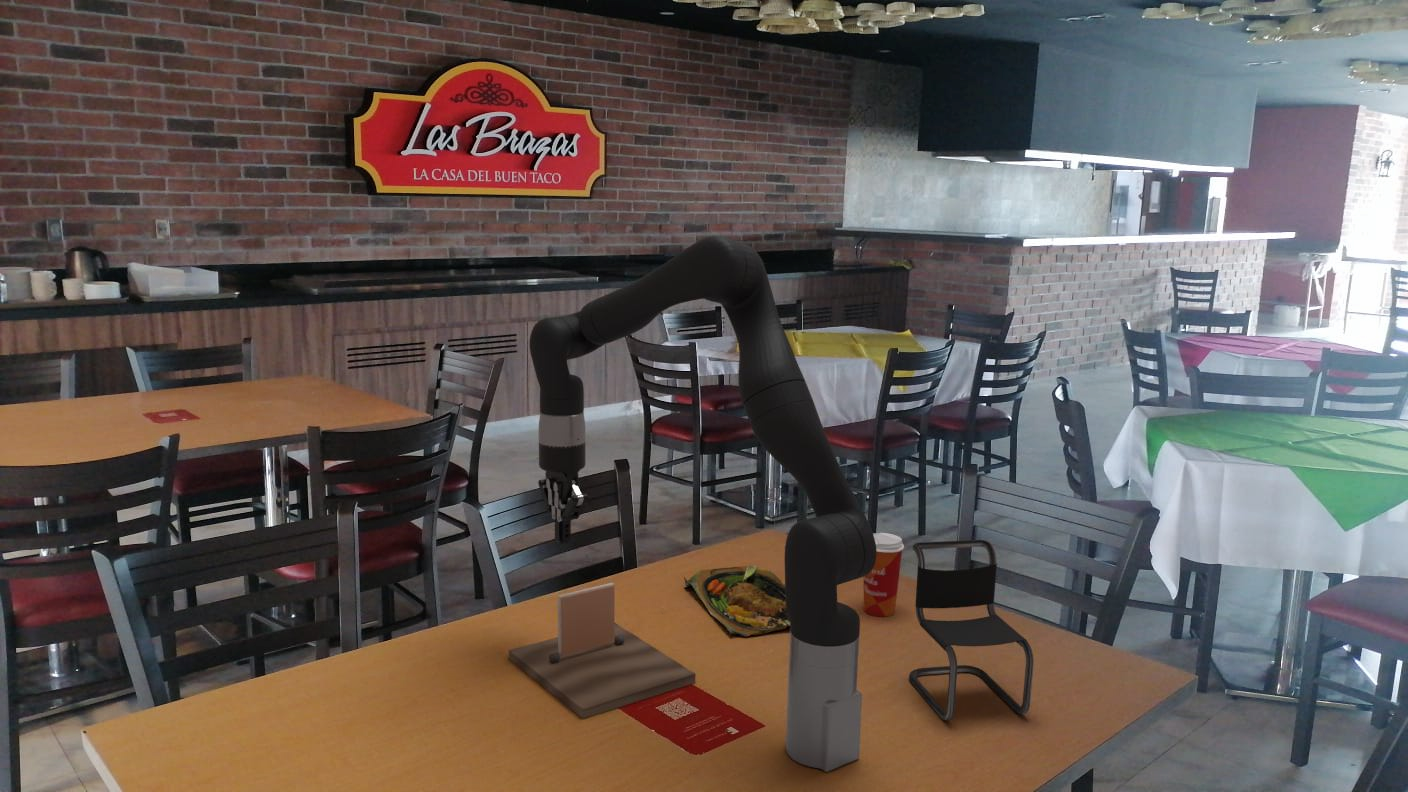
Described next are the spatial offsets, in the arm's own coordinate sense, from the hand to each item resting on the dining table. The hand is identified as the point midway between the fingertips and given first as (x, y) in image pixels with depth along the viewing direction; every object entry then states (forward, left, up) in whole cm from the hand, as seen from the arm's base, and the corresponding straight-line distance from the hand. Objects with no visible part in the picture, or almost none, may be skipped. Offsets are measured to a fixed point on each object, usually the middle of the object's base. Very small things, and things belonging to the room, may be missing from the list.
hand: (562, 541), depth 167 cm
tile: (-8, 0, -11) cm, 13 cm away
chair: (-51, -41, -18) cm, 68 cm away
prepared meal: (-4, -37, -19) cm, 42 cm away
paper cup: (-20, -55, -18) cm, 61 cm away
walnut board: (-12, 0, -18) cm, 22 cm away
